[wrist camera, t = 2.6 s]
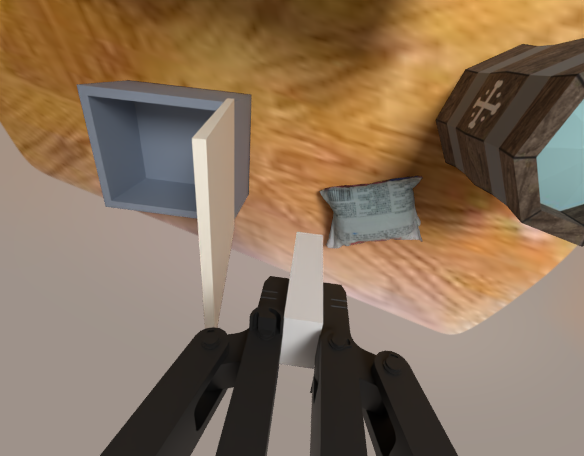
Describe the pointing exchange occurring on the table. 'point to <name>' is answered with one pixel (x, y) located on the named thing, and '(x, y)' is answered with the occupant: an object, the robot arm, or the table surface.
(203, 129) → the lid
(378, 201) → the packaged food
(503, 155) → the mug
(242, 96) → the box
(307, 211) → the table surface
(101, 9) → the table surface
